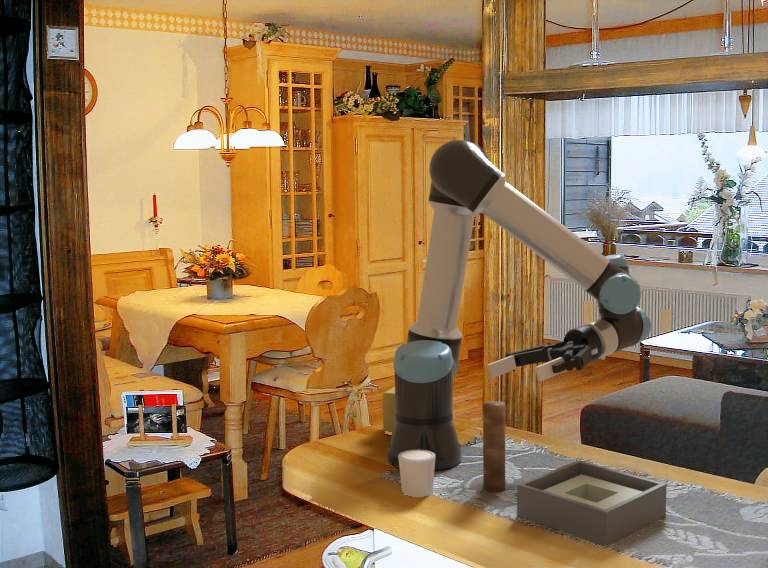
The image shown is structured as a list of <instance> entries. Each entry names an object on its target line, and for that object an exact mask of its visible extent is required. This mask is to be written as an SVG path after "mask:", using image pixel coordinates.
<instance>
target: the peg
mask: <svg viewBox="0 0 768 568" xmlns="http://www.w3.org/2000/svg"><path fill="white" fill-rule="evenodd" d="M482 440H483V441H482V446H483V447H482V452H483V453H482V457H483V460H482V462H483V464H482V468H483V469H482V470H483V471H482V473H483V474H482V479H483V483H482V485H483V487H482V489H483V491H485V492H488V493H502V492H505V491H506V403H505V402H503V401H500V400H497V401H496V400H489V401H484V402H483V403H482Z"/></svg>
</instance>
